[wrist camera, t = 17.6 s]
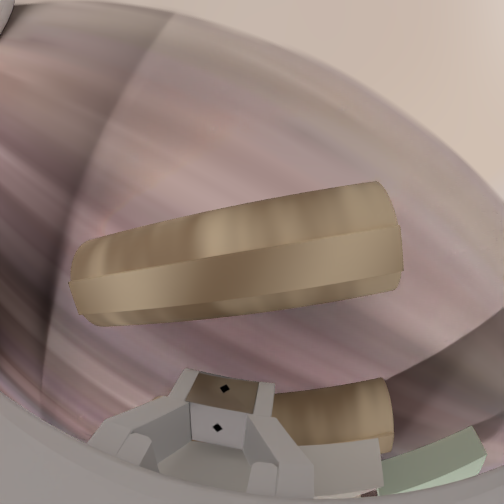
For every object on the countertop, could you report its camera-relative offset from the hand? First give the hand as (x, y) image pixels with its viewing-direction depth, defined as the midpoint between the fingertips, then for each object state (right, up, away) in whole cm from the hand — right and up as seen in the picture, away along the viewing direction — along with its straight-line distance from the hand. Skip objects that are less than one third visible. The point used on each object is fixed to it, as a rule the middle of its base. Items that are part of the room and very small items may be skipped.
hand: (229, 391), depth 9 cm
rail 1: (0, +5, +4) cm, 6 cm away
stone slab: (+1, -8, +4) cm, 8 cm away
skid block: (+14, -11, +6) cm, 18 cm away
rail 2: (+2, -4, +6) cm, 7 cm away
